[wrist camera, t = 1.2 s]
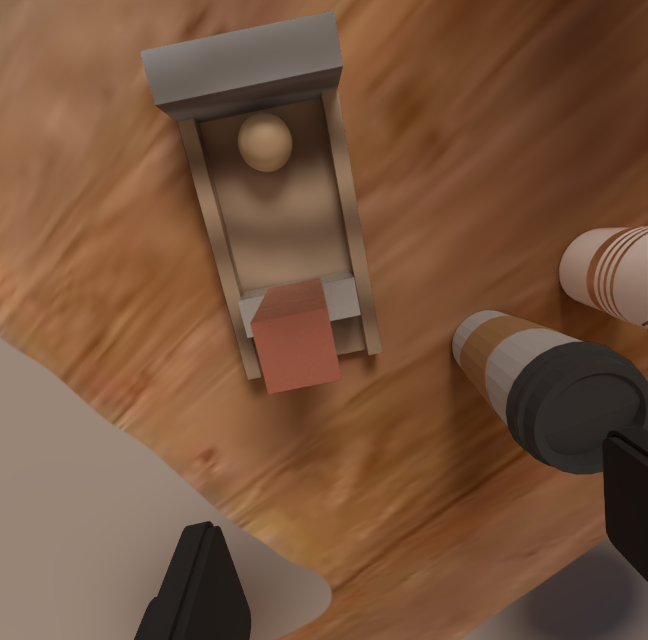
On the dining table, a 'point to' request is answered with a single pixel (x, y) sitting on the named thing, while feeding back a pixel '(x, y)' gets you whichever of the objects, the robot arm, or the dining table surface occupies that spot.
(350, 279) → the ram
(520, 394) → the coffee cup
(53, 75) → the dining table surface
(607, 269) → the striped paper cup
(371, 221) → the dining table surface
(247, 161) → the walnut
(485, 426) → the dining table surface
